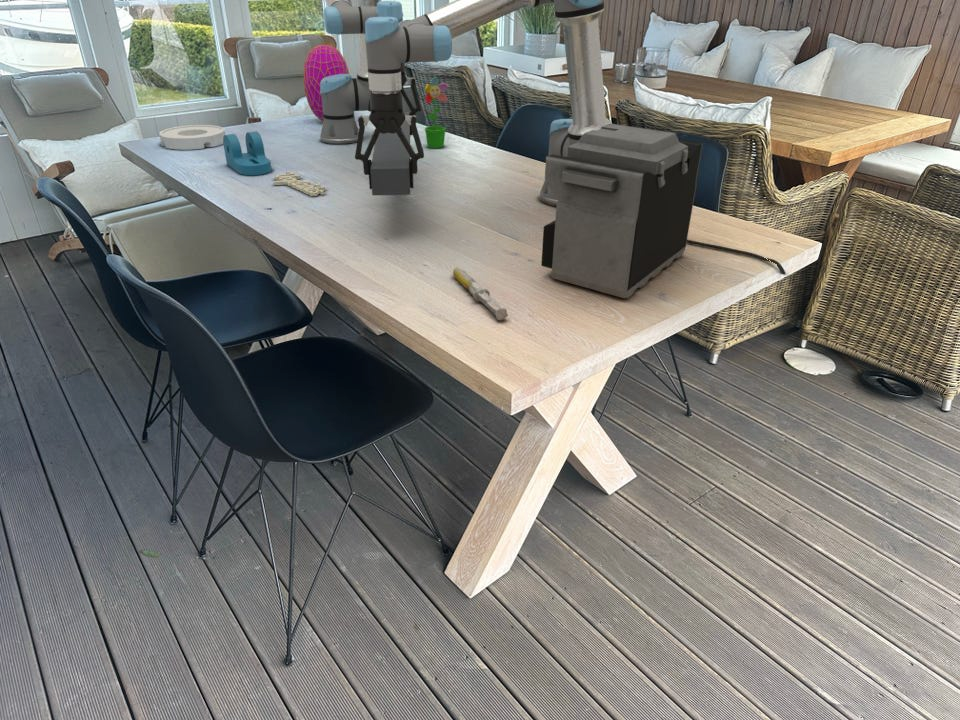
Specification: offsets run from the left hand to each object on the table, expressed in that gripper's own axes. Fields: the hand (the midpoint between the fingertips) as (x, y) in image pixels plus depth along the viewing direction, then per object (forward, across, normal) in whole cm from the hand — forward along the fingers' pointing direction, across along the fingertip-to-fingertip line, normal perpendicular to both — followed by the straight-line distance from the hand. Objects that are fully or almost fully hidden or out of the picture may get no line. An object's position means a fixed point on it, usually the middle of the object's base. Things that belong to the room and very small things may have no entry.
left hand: (395, 134), depth 220 cm
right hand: (0, 0, +58) cm, 58 cm away
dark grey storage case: (+12, -52, +82) cm, 98 cm away
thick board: (0, 0, +29) cm, 29 cm away
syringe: (+12, -19, +97) cm, 99 cm away
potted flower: (+13, -14, -36) cm, 41 cm away
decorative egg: (+13, +30, -82) cm, 88 cm away
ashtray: (+13, +78, -46) cm, 91 cm away
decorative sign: (+12, +31, +14) cm, 36 cm away
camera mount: (+13, +49, -7) cm, 51 cm away
